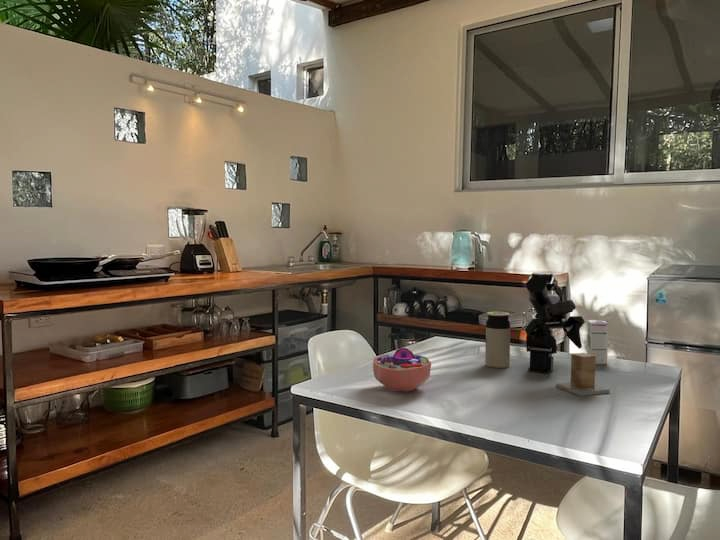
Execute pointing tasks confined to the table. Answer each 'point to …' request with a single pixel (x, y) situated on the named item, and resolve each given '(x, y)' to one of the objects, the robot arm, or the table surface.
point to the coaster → (582, 392)
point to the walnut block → (583, 370)
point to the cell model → (402, 370)
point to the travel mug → (497, 340)
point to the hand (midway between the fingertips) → (568, 348)
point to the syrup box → (598, 340)
